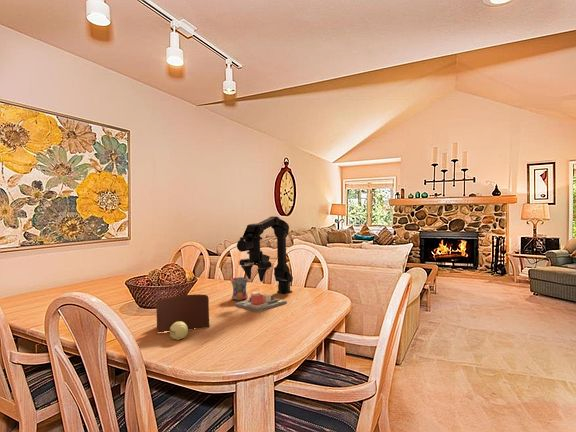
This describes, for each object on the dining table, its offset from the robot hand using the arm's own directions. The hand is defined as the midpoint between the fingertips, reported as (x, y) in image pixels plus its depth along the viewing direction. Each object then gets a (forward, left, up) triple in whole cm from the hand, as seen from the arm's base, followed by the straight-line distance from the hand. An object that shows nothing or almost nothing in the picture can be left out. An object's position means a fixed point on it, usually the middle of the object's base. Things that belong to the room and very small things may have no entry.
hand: (255, 280), depth 168 cm
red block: (+4, +6, -11) cm, 13 cm away
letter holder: (+41, +3, -12) cm, 43 cm away
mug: (-2, -15, -12) cm, 20 cm away
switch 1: (-2, -2, -10) cm, 11 cm away
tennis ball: (+48, +14, -12) cm, 52 cm away
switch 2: (-2, +6, -10) cm, 12 cm away
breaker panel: (-1, +3, -12) cm, 12 cm away
